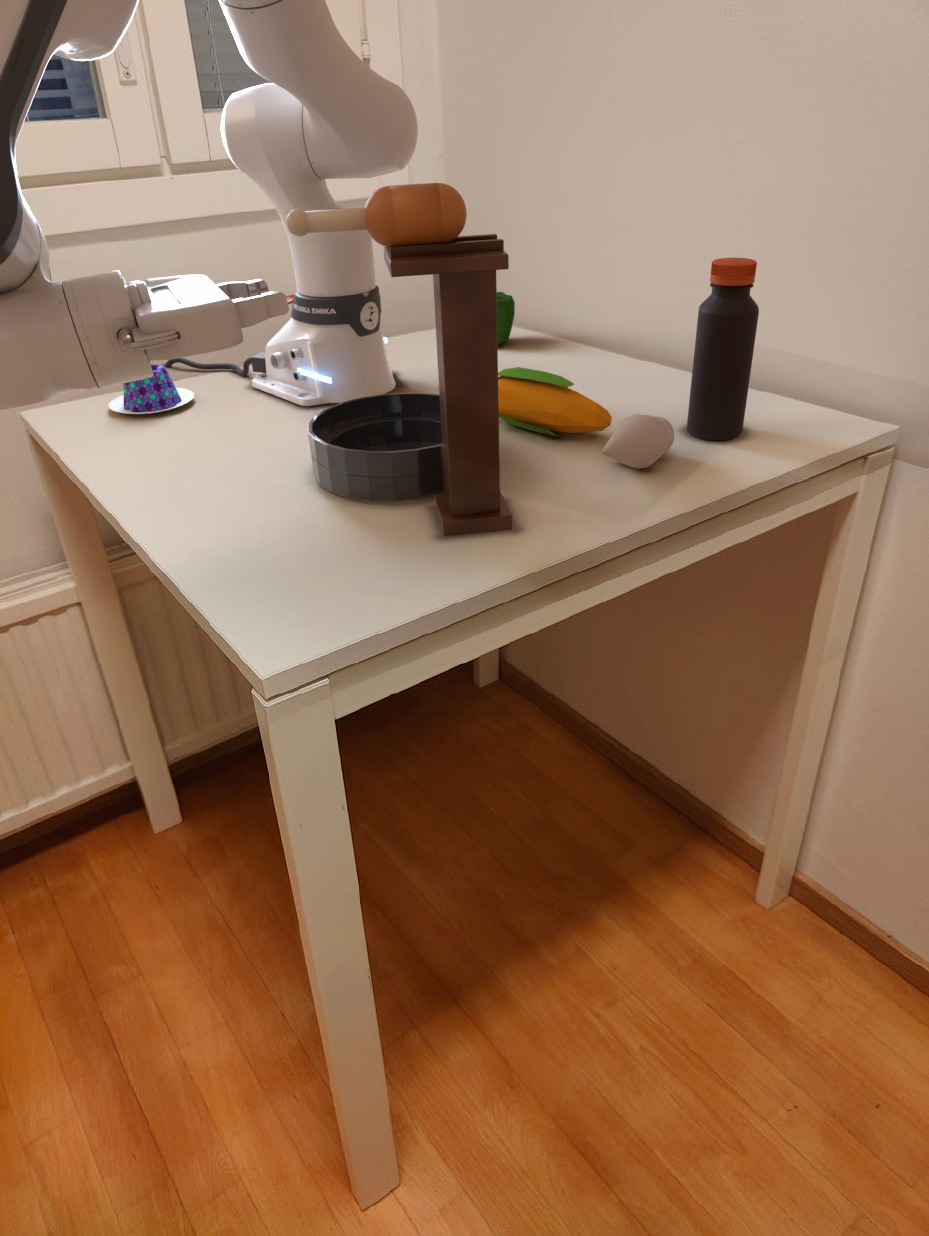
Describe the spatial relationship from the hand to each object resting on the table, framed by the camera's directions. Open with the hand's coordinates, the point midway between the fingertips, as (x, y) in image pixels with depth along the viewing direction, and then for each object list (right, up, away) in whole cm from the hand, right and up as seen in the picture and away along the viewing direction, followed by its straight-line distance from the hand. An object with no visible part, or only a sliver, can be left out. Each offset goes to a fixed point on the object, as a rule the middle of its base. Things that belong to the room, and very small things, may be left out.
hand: (276, 294), depth 77 cm
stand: (+16, -19, +13) cm, 28 cm away
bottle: (+48, -6, +31) cm, 58 cm away
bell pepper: (+21, +18, +71) cm, 76 cm away
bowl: (+9, -11, +25) cm, 29 cm away
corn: (+27, -5, +34) cm, 44 cm away
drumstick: (+9, +3, -2) cm, 10 cm away
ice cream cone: (+36, -12, +22) cm, 44 cm away
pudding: (-29, +2, +49) cm, 57 cm away
